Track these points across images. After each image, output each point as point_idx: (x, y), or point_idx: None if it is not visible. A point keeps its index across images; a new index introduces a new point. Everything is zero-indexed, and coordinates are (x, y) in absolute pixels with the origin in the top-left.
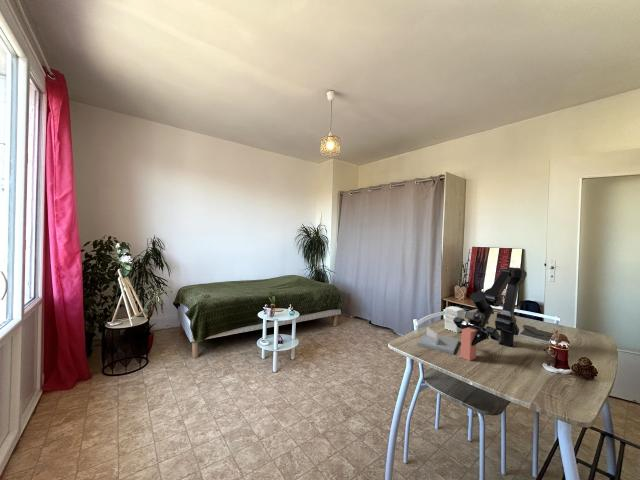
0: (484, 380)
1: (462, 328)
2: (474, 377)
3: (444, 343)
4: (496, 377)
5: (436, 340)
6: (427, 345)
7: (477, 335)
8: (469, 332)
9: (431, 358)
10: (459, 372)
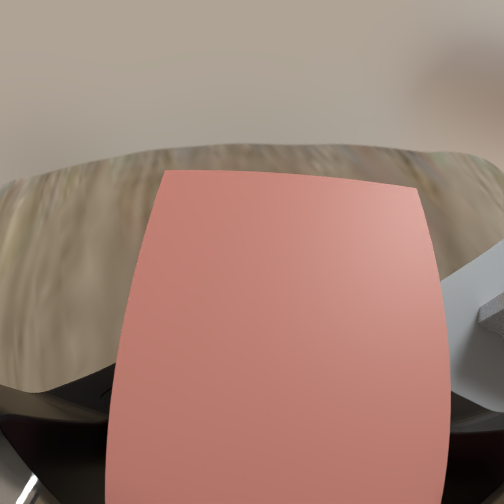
0: (96, 187)
1: (501, 414)
2: (133, 174)
3: (476, 387)
4: (57, 258)
5: (498, 297)
6: (480, 255)
7: (100, 394)
8: (200, 182)
9: (364, 170)
10: (197, 157)
